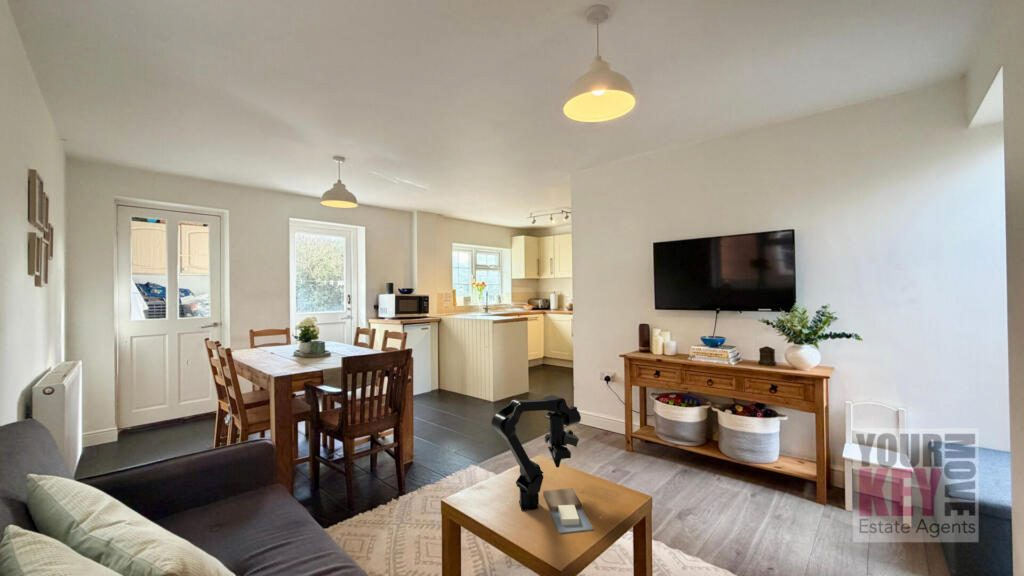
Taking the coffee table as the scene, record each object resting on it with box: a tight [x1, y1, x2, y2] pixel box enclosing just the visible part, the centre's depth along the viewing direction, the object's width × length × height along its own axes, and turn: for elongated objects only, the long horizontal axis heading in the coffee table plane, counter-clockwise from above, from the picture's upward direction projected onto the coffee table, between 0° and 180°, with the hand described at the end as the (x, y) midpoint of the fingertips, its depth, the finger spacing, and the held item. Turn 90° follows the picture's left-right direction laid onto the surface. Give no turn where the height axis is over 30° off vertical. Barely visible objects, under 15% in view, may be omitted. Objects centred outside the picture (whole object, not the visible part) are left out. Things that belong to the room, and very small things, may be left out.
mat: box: [549, 508, 594, 535], centre depth 148 cm, size 12×13×1 cm
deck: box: [542, 487, 583, 512], centre depth 161 cm, size 12×12×2 cm
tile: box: [558, 505, 579, 525], centre depth 150 cm, size 6×9×2 cm, turn 2°
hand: (557, 467), depth 166 cm, fingers closed
